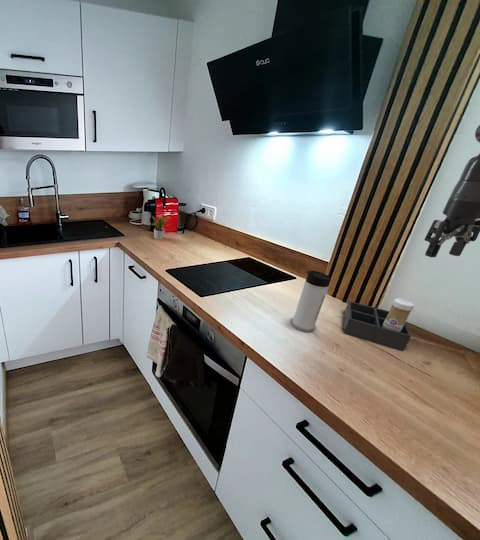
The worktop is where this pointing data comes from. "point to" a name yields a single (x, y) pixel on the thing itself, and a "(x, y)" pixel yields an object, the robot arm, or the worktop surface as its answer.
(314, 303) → the travel mug
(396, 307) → the sprinkles bottle
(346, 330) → the box
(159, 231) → the house plant
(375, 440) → the worktop surface
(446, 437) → the worktop surface
